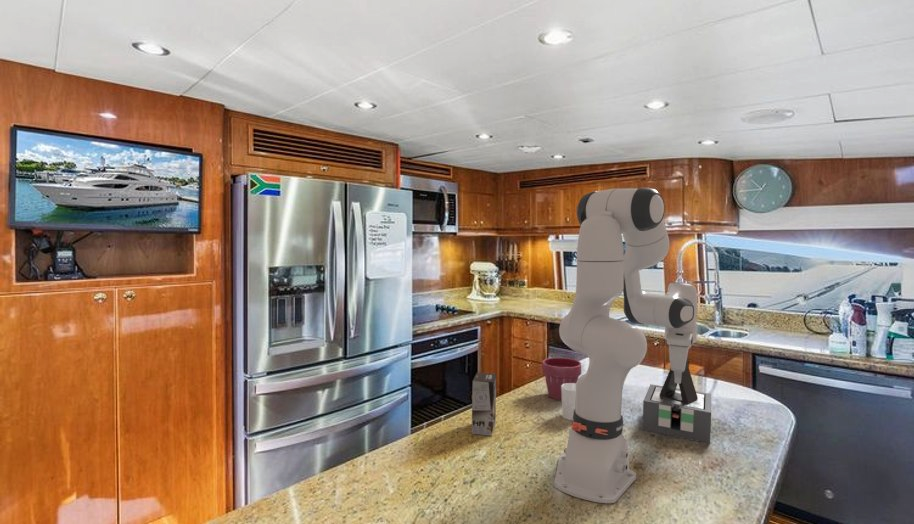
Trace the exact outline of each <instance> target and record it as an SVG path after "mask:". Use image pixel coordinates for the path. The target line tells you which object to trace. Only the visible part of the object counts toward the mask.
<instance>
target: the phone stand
mask: <svg viewBox="0 0 914 524" xmlns="http://www.w3.org/2000/svg"><path fill="white" fill-rule="evenodd" d="M674 380H675V377H674V371H672V370H671V368H670V367H669V371H668V374H667V376H666V379H665V381H664V383H663V385H662V386H663V387H662V390H661V392H660V396H663V397H667V398H670V399H674V400H677V401H680V402H683V403H687V404H688V403H690V402H693V401H695V400H697V399H698V397H697V394H696V391H697V390H696V387H695V385H694V381H693V378H692V375H691V371H690V361H689V359H688V358H687V360H686V366H685V370H684V372H682V377H681V383H680V384H678V383H675V382H674ZM677 386H678V387H679V389H680V392H681V394H680V393H676V392H675V390H676V388H678V387H677Z"/></svg>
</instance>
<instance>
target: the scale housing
mask: <svg viewBox="0 0 914 524" xmlns="http://www.w3.org/2000/svg"><path fill="white" fill-rule="evenodd" d="M656 387H660V388H662V387H663V385H658V384H651V383H650V385H649V387H648V389H647V391H646V394H645V396H644V399H643V401H642V402H643V406H642V431H646V430H647V432H651V431H652V433H657V434H661V435H665V436H667V435H668V436H671V435H672V437H676V436H677V437H676V438H681V437H683V438H682V439H685V438H687V439H686V440H690V439H692V441H695V440H698V441H697V442H700V441H701V442H702V443H705V442H706V443H707V444H711V429H712V428H711V427H712V425H711V424H712V393H708V392H702V391H697V390H696V393H698V394H704V408H703V409H698V408H692V407H686V406H681V409H679V411H673V408H672V404H669V403H663V402H657V401H652V400H651V399H652V397H653V394H654V392H655V389H656ZM676 390H679V391H680V388H678V387H676ZM673 413H678V414H679V418H674V417H673ZM701 442H700V443H701Z"/></svg>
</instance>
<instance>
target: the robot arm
mask: <svg viewBox="0 0 914 524" xmlns="http://www.w3.org/2000/svg"><path fill="white" fill-rule="evenodd" d="M665 210H666V208H665V200H664V198H663V196H662V195H661V193H659V192H658V190H656V189H654V188H650V187H639V188H628V187H627V188H618V187H617V188H610V189H605V190H599V191H597V190H594V191H591V192H588V193H585V194H584V195H582V197H581V198H580V199H579V201H578V203H577V206H576V217H577V221H578V223H579V225H580V228H579V233H578V236H577V237H578V238H577V245H576V247H577V248H576V285H575V287H576V288H575V295H574V300H573V302H572V305H571V308H570V310H569V312H568V313H567V314H566V315H565V316H564V317H563V318H562V320H561V321H560V324H559V328H558V333H559V338H560V340H561V341H562V343H564V344H565V345H566V346H567V347H568V348H570V349H571V350H572V351H573V352H576V353H578V354H580V355H582V356H585V357H588V360H589V362H588V363H589V364H588V367H587V370H586V373H585V374H583V375H582V374H581V375H580V377H578V380H577V382H576V399H575V410H574V413H573V418H572V423H571V427H570V428H569V429H568V439H567V443H566V447H564V449H563V452H564V453H563V454H560V455H559V459H558V464H557V468H556V474H555V476H554V477H555V478H554V481H553V482H554V483H553V486H554V487H555V488H556V489H557V490H559V491H560V492H563V493H565V494H567V495H569V496H572V497H575V498H577V499H581V500H586V501H590V502H594V503H600V504H615V503H616V502H617V501H618V500H619V499H620V497H622V495H623V494H624V493H625V492H626V491H627V490H628V488H629V487H630V486H631V485H632V484H633V483H634V482H635V481H636V479H637V473H636V471H634V470H633V469H631V468H630V447H629V443H630V442H629V441H628V440H627V438H626V437H625V436H624V434H623V432H624V431H623V430H624V417H623V415H622V403H623V389H624V385H625V381H626V379H627V376H628V374H629V373H630V372H631V370H633V368H635V367H637V366H639V365H640V364H641V363H642V362H643V360H644V359H645V357H646V354H647V352H648V342H647V338H646V335H645V333H644V332H643V331H642V330H641V329H639V328H638V327H636V326H635V325H646V326H647V325H648V326H653V327H658V328H659V327H660V328H661V327H662V328H664V340H665V341H666V344H667V345H668V353H669V354H668V355H669V357H668V358H669V369H670V368H671V370H672V371H674V377H675V380H674V382H675V383H678V384H677V385H679V384H680V383H681V377H682V372H684V370H685V366H686V360H687V359H688V353H689V350H690V349H691V348H692V345H693V344H695V343H696V342H697V336H698V335H697V333H698V331H697V330H698V324H697V314H698V309H699V308H698V307H699V306H698V304H699V303H698V302H699V301H698V292H697V288H696V286H695V285H693V284H691V283H685V282H675V281H673V282H670V283H669V284H668V286H667V287H668V288H667V292H666V293H665V294H661V293H659V294H657V293H650V292H646V291H644V290H643V289H642V287H641V286H642V285H641V276H640V275H641V274H640V271H642V270H645V269H648V268H652V267H654V266H655V265H658V264H659V263H660V262H661V261H663V260H664V259H665V258H666V257H667V255H668V253H669V251H670V248H671V247H670V238H669V234H668V231H667V227H666V224H665V221H664V217H665ZM623 239H624V243H625V250H624V244H623ZM622 294H623V312H624V316H625V317H626V318H627V320H628V321H629V322H630V323H629V322H627V321H625V320H620V319H618V318H617V319H616V318H614V317H610V313H611V311H610V310H611V307H612V305H613V302H614V300H616V299H618V298H619V297H620V296H621V295H622ZM632 324H633V325H632Z"/></svg>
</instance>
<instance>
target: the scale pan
mask: <svg viewBox="0 0 914 524" xmlns="http://www.w3.org/2000/svg"><path fill="white" fill-rule="evenodd" d="M661 390H662V388H660V387H656V389H655V392H654V394H653V397H652V399H651V400H652V401H657V402H663V403H669V404H672V408H673V411H679V409H681V406H686V407H692V408H698V409H703V408H704V394H698V393H696V394H697V397H698V399H697V400H695V401H693V402H690V403H688V404H687V403H683V402H680V401H677V400H674V399H670V398H667V397H663V396H660V392H661ZM675 392H676V393H680V394H681V392H680V391H679V390H675Z"/></svg>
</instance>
